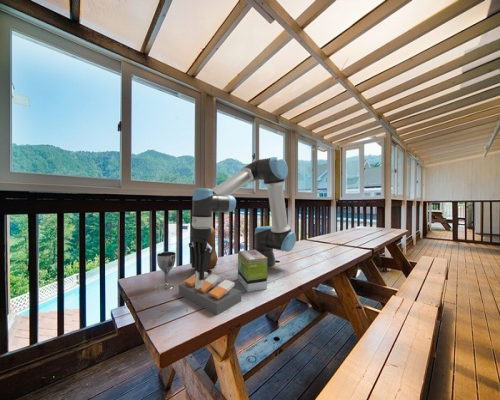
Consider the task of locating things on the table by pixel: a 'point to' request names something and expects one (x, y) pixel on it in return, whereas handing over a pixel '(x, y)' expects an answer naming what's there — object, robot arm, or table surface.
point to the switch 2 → (221, 289)
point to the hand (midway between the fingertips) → (199, 287)
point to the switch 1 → (193, 279)
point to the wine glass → (166, 267)
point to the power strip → (210, 298)
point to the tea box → (252, 270)
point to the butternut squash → (214, 256)
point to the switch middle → (209, 283)
